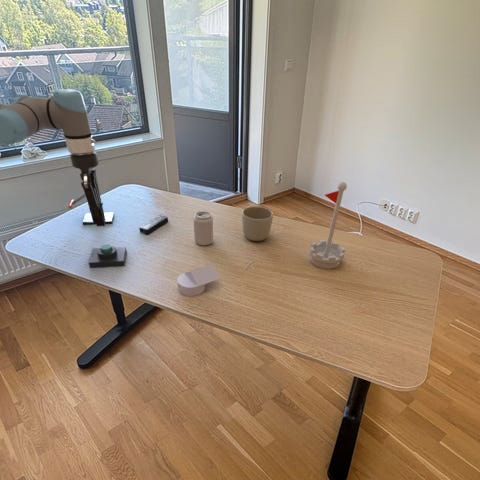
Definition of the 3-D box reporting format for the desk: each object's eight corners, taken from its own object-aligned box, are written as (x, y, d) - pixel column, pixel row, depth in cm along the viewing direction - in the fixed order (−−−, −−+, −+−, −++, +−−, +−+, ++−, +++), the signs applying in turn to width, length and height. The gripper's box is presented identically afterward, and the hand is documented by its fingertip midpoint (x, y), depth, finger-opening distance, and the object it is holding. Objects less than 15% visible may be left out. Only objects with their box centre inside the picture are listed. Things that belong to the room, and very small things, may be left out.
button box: (89, 268, 123) (87, 258, 120) (94, 253, 130) (91, 244, 128) (124, 266, 125) (122, 256, 122) (126, 252, 132) (124, 242, 130)
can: (208, 236, 144) (207, 208, 136) (216, 244, 139) (216, 215, 132) (191, 239, 141) (190, 211, 133) (199, 248, 136) (198, 219, 129)
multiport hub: (168, 221, 153) (168, 216, 151) (148, 235, 143) (147, 230, 141) (160, 219, 154) (159, 214, 153) (139, 232, 144) (138, 227, 143)
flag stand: (343, 255, 136) (364, 178, 117) (340, 273, 127) (362, 192, 107) (310, 249, 139) (325, 173, 119) (305, 266, 130) (320, 185, 110)
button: (101, 253, 124) (99, 249, 123) (102, 248, 126) (101, 244, 125) (111, 253, 124) (110, 249, 123) (112, 248, 127) (111, 244, 126)
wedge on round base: (206, 273, 123) (173, 285, 117) (206, 257, 119) (171, 268, 113) (219, 286, 118) (186, 299, 112) (220, 270, 113) (184, 282, 107)
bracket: (82, 224, 147) (73, 190, 138) (86, 215, 154) (77, 182, 144) (112, 223, 149) (104, 189, 139) (114, 214, 156) (107, 181, 146)
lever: (71, 210, 144) (66, 205, 142) (73, 204, 148) (69, 199, 147) (95, 193, 141) (91, 188, 140) (97, 188, 146) (93, 183, 144)
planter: (264, 229, 151) (267, 205, 144) (274, 242, 142) (277, 218, 135) (237, 231, 148) (238, 207, 141) (245, 246, 139) (247, 220, 132)
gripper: (92, 158, 99) (110, 233, 114) (98, 145, 108) (114, 216, 124) (64, 158, 98) (86, 234, 113) (73, 145, 107) (92, 217, 123)
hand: (100, 225), depth 119 cm, fingers closed
